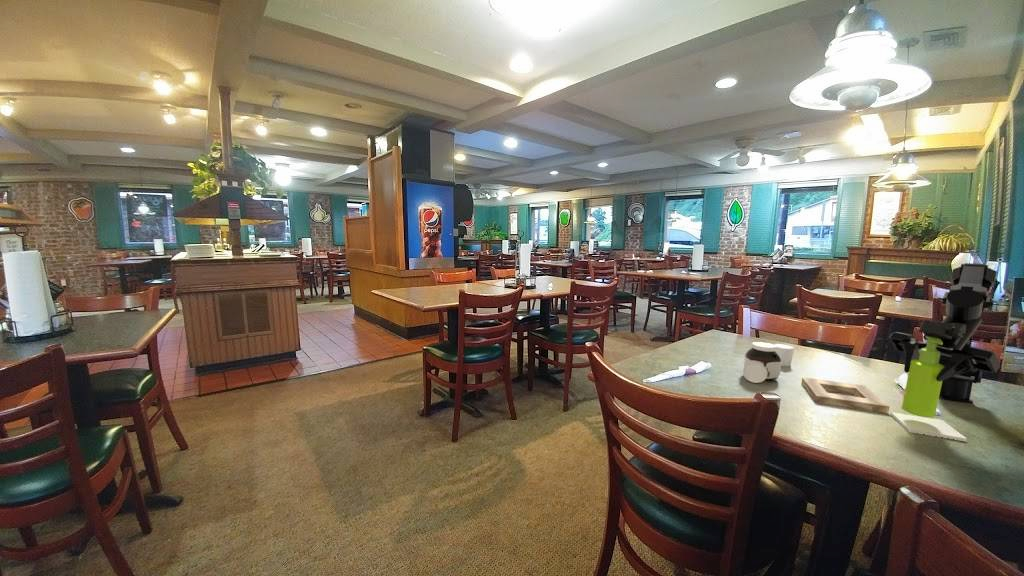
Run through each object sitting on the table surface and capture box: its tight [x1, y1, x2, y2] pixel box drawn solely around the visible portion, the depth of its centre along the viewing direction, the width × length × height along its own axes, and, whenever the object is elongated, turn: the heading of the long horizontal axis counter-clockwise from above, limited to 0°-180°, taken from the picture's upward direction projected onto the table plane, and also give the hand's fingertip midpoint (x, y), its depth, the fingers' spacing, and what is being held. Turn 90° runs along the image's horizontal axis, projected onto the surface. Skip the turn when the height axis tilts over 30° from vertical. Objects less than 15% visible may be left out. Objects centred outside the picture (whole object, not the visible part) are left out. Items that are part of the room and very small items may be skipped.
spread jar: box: [742, 341, 782, 384], centre depth 127 cm, size 12×11×12 cm
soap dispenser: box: [901, 336, 945, 419], centre depth 95 cm, size 6×7×20 cm
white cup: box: [773, 343, 795, 367], centre depth 143 cm, size 7×7×7 cm
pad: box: [889, 411, 968, 442], centre depth 96 cm, size 10×10×1 cm
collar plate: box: [801, 376, 891, 414], centre depth 114 cm, size 16×16×2 cm
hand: (921, 375), depth 95 cm, fingers closed on soap dispenser, 6 cm apart
